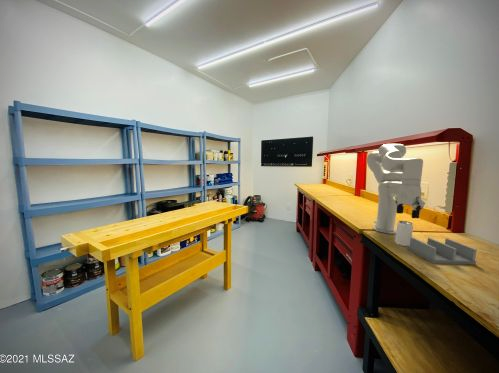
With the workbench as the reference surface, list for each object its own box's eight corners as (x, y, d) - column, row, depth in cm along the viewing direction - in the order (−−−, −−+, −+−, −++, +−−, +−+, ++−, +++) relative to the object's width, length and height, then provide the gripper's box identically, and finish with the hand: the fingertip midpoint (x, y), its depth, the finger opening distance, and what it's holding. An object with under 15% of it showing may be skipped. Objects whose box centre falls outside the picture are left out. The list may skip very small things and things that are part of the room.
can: (403, 247, 96) (406, 224, 94) (391, 242, 102) (394, 220, 101) (414, 246, 97) (417, 224, 96) (401, 241, 103) (404, 220, 102)
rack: (408, 249, 93) (409, 236, 92) (444, 250, 93) (446, 238, 92) (433, 263, 80) (435, 248, 80) (475, 264, 80) (478, 250, 79)
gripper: (390, 181, 104) (387, 211, 106) (418, 184, 87) (413, 220, 89) (404, 181, 104) (401, 211, 106) (434, 184, 87) (430, 220, 89)
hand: (406, 215), depth 97 cm, fingers open, 9 cm apart
